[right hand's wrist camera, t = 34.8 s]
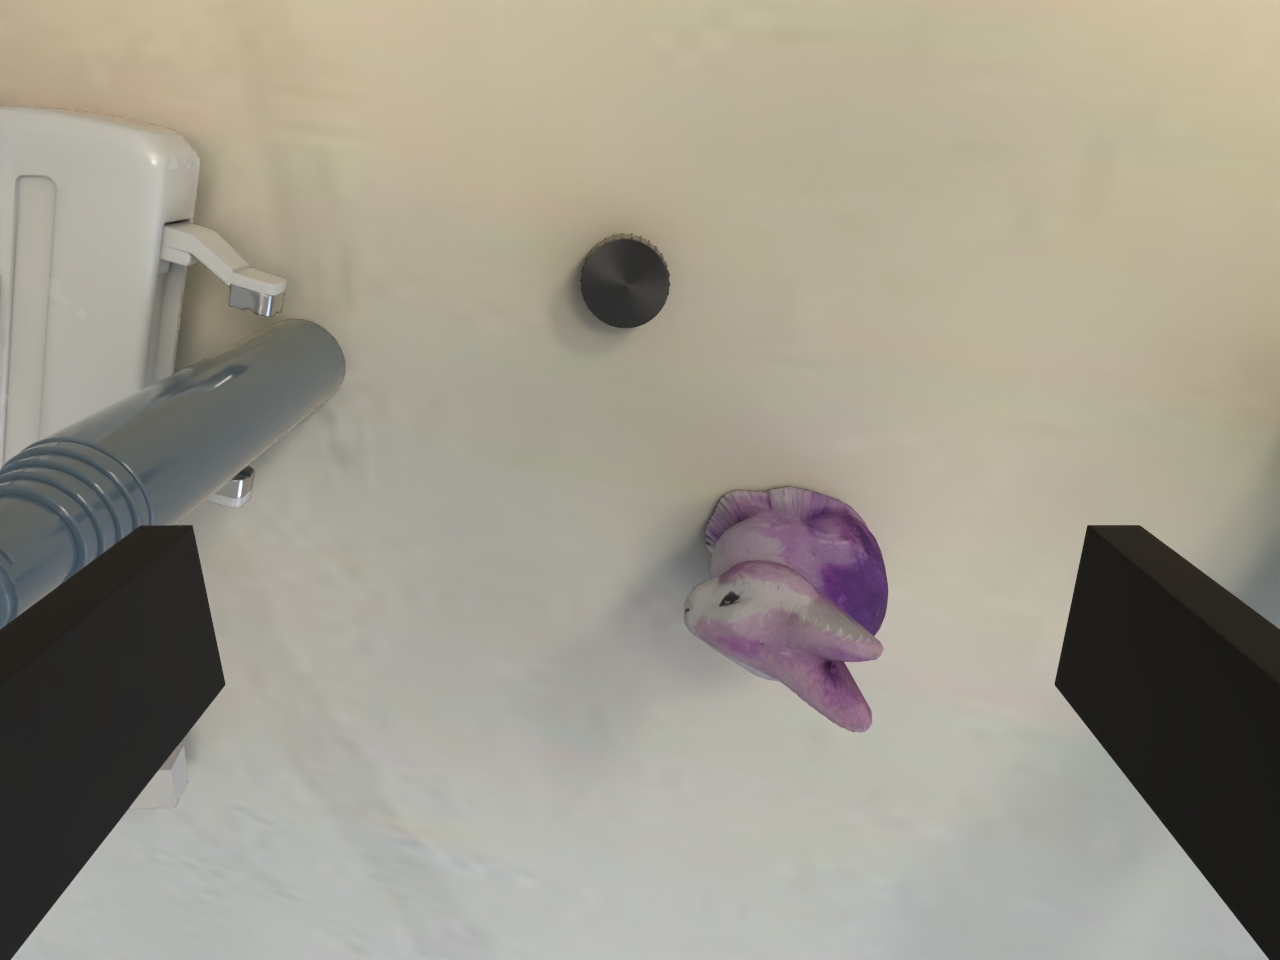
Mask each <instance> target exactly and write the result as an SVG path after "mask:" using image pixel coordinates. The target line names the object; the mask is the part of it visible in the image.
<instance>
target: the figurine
mask: <svg viewBox="0 0 1280 960" xmlns="http://www.w3.org/2000/svg"><path fill="white" fill-rule="evenodd" d="M705 533H706V535H705V540H706V542H705V544H706V546H707V548H708V550H709V551H710V553H711V554H712V558H711V563H710V575H711V578H712V579H710V580H708V581H705V582H703V583H701V584H699V585H697V586H696V587H694V588H693V589H692V590H691V591H690V593H689V594H688V597H687V599H686V602H685V613H684V622H685V624H686V626H687V628H688V629H689V631H690V632H692V633H693V634H694V635H695V636H696V637H698V638H699V639H701V640H703V641H704V642H706V643H707V644H708V645H710V646H711V647H712V648H713V649H715V650H716V651H718V652H719V653H721V654H723V655H724V656H726V657H727V658H729V659H730V660H732V661H733V662H735V663H736V664H738V665H740V666H741V667H743V668H745V669H746V670H748V671H749V672H751V673H753V674H755V675H756V676H759V677H761V678H764V679H768V680H774V681H780V682H782V683H783V684H784V685H786V686H787V687H788V688H790V689H791V690H792V691H793V692H794V693H796V694H797V695H798V696H799V697H800V698H801V699H802V700H804V701H805V702H807V703H808V704H809V705H810V706H811V707H813V708H814V709H815V710H817V711H818V712H819V713H820V714H822V715H824V716H825V717H826V718H828V719H829V720H830V721H832V722H833V723H836V724H837V725H838V726H840V727H842V728H845V729H847V730H849V731H852V732H859V733H860V732H865V731H866V730H867V729H869V728H870V726H871V725H872V712H871V709H870V708H869V706H868V704H867V702H866V700H865V699H864V697H863V695H862V693H861V691H860V690H859V688H858V686H857V684H856V683H855V681H854V679H853V677H852V675H851V674H850V672H849V670H848V668H847V667H846V665H845V663H844V662H861V661H868V660H875V659H877V658H878V657H879V656H881V655H882V652H883V646H882V644H881V642H880V641H879V640H878V639H876V638H875V637H874V636H875V634H876V633H877V632H878V630H879V629H880V626H881V624H882V622H883V619H884V617H885V613H886V608H887V599H888V583H887V577H886V571H885V565H884V561H883V558H882V554H881V551H880V548H879V546H878V543H877V541H876V539H875V537H874V536H873V535H872V533H871V532H870V531H869V530H868V528H867V526H866V524H865V522H864V521H863V520H862V518H861V517H860V516H859V515H858V514H857V513H856V512H855V511H854V509H853V508H852V507H850V506H848V505H847V504H845V503H843V502H841V501H839V500H837V499H834V498H831V497H828V496H825V495H822V494H819V493H816V492H813V491H810V490H805V489H799V488H794V487H790V486H787V487H783V488H777V489H771V490H769V491H765V492H760V491H758V492H753V491H743V490H737V491H732V492H728V493H726V495H725V496H724V497H722V498H721V500H720V501H719V503H718V505H717V509H715V512H714V513H713V516H712V517H711V520H710V521H709V524H708V525H707V528H706V531H705Z"/></svg>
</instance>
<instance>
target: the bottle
mask: <svg viewBox="0 0 1280 960" xmlns="http://www.w3.org/2000/svg"><path fill="white" fill-rule="evenodd" d="M344 374H345V361H344V357H343V353H342V351H341V348H340V346H339V345H338V343H337V341H336V340H335V339H334V337H333V336H332V335H331V334H330V333H329V332H327V331H326V330H325V329H324V328H322V327H321V326H319V325H317V324H315V323H313V322H310V321H307V320H302V319H288V320H283V321H280V322H278V323H276V324H274V325H272V326H270V327H268V328H266V329H264V330H262V331H260V332H258V333H255V334H253V335H251V336H249V337H247V338H245V339H243V340H241V341H239V342H237V343H235V344H233V345H231V346H229V347H227V348H225V349H223V350H221V351H219V352H217V353H215V354H213V355H211V356H209V357H207V358H205V359H203V360H201V361H199V362H197V363H195V364H193V365H191V366H189V367H187V368H185V369H183V370H181V371H179V372H177V373H175V374H173V375H170V376H168V377H166V378H164V379H162V380H160V381H158V382H156V383H154V384H152V385H150V386H148V387H146V388H144V389H142V390H140V391H138V392H136V393H134V394H132V395H130V396H128V397H126V398H124V399H122V400H120V401H118V402H116V403H114V404H112V405H110V406H108V407H106V408H104V409H102V410H100V411H98V412H96V413H94V414H92V415H90V416H87V417H85V418H83V419H81V420H79V421H77V422H75V423H73V424H71V425H69V426H67V427H65V428H63V429H61V430H59V431H57V432H55V433H53V434H51V435H49V436H47V437H45V438H43V439H41V440H39V441H37V442H35V443H33V444H31V445H29V446H27V447H26V448H24V449H23V450H22V451H21V452H20V453H19V454H17V455H15V456H14V457H12V458H11V459H9V460H8V461H7V462H6V463H5V464H4V465H3V466H2V468H1V469H0V629H2V628H3V627H4V626H6V625H7V624H8V623H10V622H11V621H12V620H14V619H15V618H16V617H18V616H19V615H20V614H22V613H23V612H24V611H26V610H27V609H29V608H30V607H31V606H33V605H34V604H35V603H37V602H38V601H39V600H41V599H42V598H43V597H45V596H46V595H47V594H49V593H50V592H51V591H53V590H54V589H55V588H57V587H58V586H59V585H61V584H62V583H63V582H65V581H66V580H68V579H69V578H70V577H72V576H73V575H74V574H76V573H77V572H78V571H80V570H81V569H82V568H84V567H85V566H86V565H88V564H89V563H90V562H92V561H93V560H94V559H96V558H97V557H98V556H100V555H101V554H102V553H104V552H105V551H107V550H108V549H109V548H111V547H112V546H113V545H115V544H116V543H117V542H119V541H120V540H121V539H123V538H124V537H125V536H127V535H128V534H129V533H131V532H132V531H133V530H135V529H136V528H137V527H139V526H140V525H177V524H178V523H179V522H180V521H182V520H183V519H184V518H185V517H186V516H188V515H189V514H190V513H191V512H192V511H194V510H195V509H196V508H197V507H198V506H200V505H201V504H202V503H203V502H204V501H206V500H207V499H208V498H209V497H211V496H212V495H213V494H214V493H215V492H217V491H218V490H219V489H220V488H221V487H223V486H224V485H225V484H226V483H227V482H229V481H230V480H231V479H232V478H233V477H235V476H236V475H237V474H238V473H239V472H241V471H242V470H243V469H244V468H245V467H247V466H248V465H249V464H250V463H252V462H253V461H254V460H255V459H256V458H258V457H259V456H260V455H261V454H262V453H264V452H265V451H266V450H267V449H268V448H270V447H271V446H272V445H273V444H274V443H276V442H277V441H278V440H279V439H280V438H282V437H283V436H284V435H285V434H286V433H288V432H289V431H290V430H291V429H292V428H294V427H295V426H296V425H297V424H299V423H300V422H301V421H302V420H303V419H305V418H306V417H307V416H308V415H309V414H311V413H312V412H313V411H314V410H315V409H317V408H318V407H319V406H320V405H321V404H323V403H324V402H325V401H326V400H327V399H329V398H330V397H331V396H332V395H333V394H334V393H335V392H336V391H337V390H338V389H339V387H340V385H341V383H342V381H343V378H344Z"/></svg>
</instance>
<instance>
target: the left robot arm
mask: <svg viewBox="0 0 1280 960" xmlns="http://www.w3.org/2000/svg"><path fill="white" fill-rule="evenodd" d="M199 172H200V158H199V156H198V154H197V153H196V151H195V150H194V149H193V148H192V146H191V145H190V144H189V143H188V142H187V141H186V139H185V138H184V137H183V136H182V135H181V134H180V133H178V132H176V131H174V130H171V129H168V128H165V127H161V126H158V125H154V124H150V123H146V122H142V121H138V120H133V119H129V118H124V117H119V116H114V115H108V114H101V113H95V112H86V111H78V110H68V109H59V108H48V107H27V106H0V469H1V468H2V466H3V465H4V464H5V463H6V462H7V461H8V460H9V459H11V458H12V457H14V456H15V455H17V454H19V453H20V452H21V451H22V450H23V449H24V448H26V447H27V446H29V445H31V444H33V443H35V442H37V441H39V440H41V439H43V438H45V437H47V436H49V435H51V434H53V433H55V432H57V431H59V430H61V429H63V428H65V427H67V426H69V425H71V424H73V423H75V422H77V421H79V420H81V419H83V418H85V417H87V416H90V415H92V414H94V413H96V412H98V411H100V410H102V409H104V408H106V407H108V406H110V405H112V404H114V403H116V402H118V401H120V400H122V399H124V398H126V397H128V396H130V395H132V394H134V393H136V392H138V391H140V390H142V389H144V388H146V387H148V386H150V385H152V384H154V383H156V382H158V381H160V380H162V379H164V378H166V377H168V376H170V375H173V374H174V369H175V361H176V353H177V345H178V337H179V329H180V321H181V313H182V305H183V298H184V290H185V282H186V274H187V266H189V265H193V264H197V263H200V262H201V263H203V264H204V265H205V266H206V267H207V268H208V269H209V270H211V271H212V272H213V273H214V274H215V275H216V276H217V277H219V278H220V279H221V280H222V281H223V282H224V283H225V284H226V285H228V286H229V287H230V296H229V304H228V305H229V306H232V307H235V308H238V309H241V310H245V309H249V308H250V309H251V311H252V312H253V313H255V314H258V315H262V316H274V315H275V314H276V313H281V310H282V305H283V300H284V294H285V291H286V283H287V280H285V279H284V278H282V277H279V276H276V275H272V274H269V273H266V272H263V271H260V270H256V269H253V268H250V264H249V263H248V262H247V261H246V260H245V259H244V258H243V257H242V256H241V255H240V254H239V253H238V252H237V251H236V250H235V249H234V248H233V247H232V246H231V245H230V244H229V243H228V242H227V241H226V240H225V239H224V238H223V237H222V236H221V235H220V234H219V233H218V232H217V231H215V230H212V229H209V228H205V227H202V226H199V225H196V224H193V219H194V211H195V203H196V195H197V187H198V180H199ZM254 473H255V471H254V469H253V468H251V467H249V466H247V467H245V468H244V469H243V470H242V471H241V472H239V473H238V474H237V475H236V476H235V477H233V478H232V479H231V480H230V481H229V482H227V483H226V484H225V485H224V486H223V487H221V488H220V489H219V490H218V491H217V492H215V493H214V494H213V495H212V496H211V497H209V498H208V499H207V500H206V501H209V502H213V503H217V504H221V505H224V506H228V507H240V506H242V505H243V504H244V503H245V502H246V501H248V500H249V499H250V498H251V492H252V486H253V480H254Z"/></svg>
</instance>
